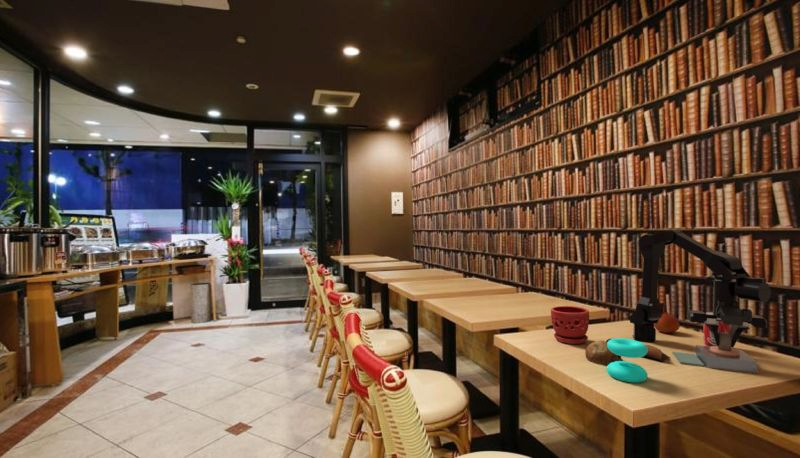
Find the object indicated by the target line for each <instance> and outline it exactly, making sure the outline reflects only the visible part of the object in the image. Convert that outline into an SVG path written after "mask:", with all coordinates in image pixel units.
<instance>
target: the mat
mask: <svg viewBox="0 0 800 458" xmlns="http://www.w3.org/2000/svg"><path fill="white" fill-rule="evenodd" d="M672 355H674V357H675V358H676V360H677V361H678V362H679V364H680V365H687V366H695V367H703V368H704V367H705V365H704V364H703V363H702V362H701V361H700V360H699V359H698V358H697V356H696V353H691V352H690V353H688V352H680V351H672Z"/></svg>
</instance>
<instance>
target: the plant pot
mask: <svg viewBox="0 0 800 458" xmlns="http://www.w3.org/2000/svg"><path fill="white" fill-rule="evenodd" d="M550 318H551V324H552V327H553V330H554V333H553V337H554V338H555V339H556V340H557V341H559V342H561V343H564V344H569V345H579V344H580V345H581V344H584V343H586V342H587V341H588V340H589V337H588V336H587V333H588V330H589V322H590V311H589V309H588V308H584V307H581V306H573V305H571V306H570V305H563V306H561V305H560V306H554V307H551V309H550Z"/></svg>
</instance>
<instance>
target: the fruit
mask: <svg viewBox="0 0 800 458" xmlns="http://www.w3.org/2000/svg"><path fill="white" fill-rule="evenodd" d="M680 327H681V326H680V321H679V320H678V318H677V317H676V316H674V315H672V314H670V313H669V312H664V314H662V317H661V318H660V319H659V321H658V323H657V324H654V328H655V329H656V331H658V332H660V333H663V334H672V333H675V332H678V330H680Z"/></svg>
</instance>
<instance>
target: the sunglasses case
mask: <svg viewBox="0 0 800 458" xmlns="http://www.w3.org/2000/svg"><path fill="white" fill-rule="evenodd" d="M611 339H612V338H608V339H606V341H605V342H608V341H609V340H611ZM645 345H646V346H647V348H648V352H647V354H646V355H645V356H644V357H646V358H649V359H650V358H651V359H655V360H658V361H661V362H662V363H664V362H665V361H668V360H669V359H671V356H669V355H667V354H666V353H664V352H662V350H661V348H658V347H656V346H654V345H650V344H645Z"/></svg>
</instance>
